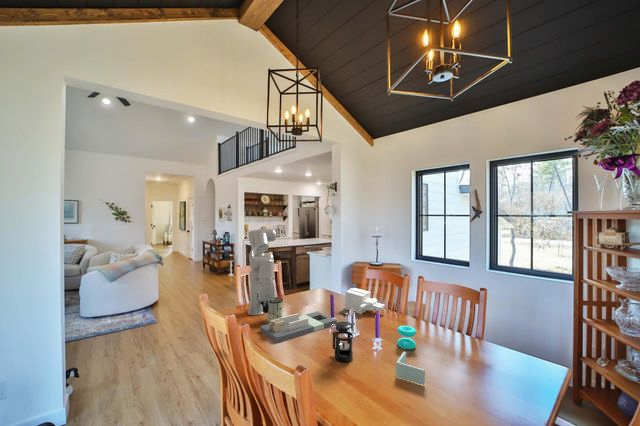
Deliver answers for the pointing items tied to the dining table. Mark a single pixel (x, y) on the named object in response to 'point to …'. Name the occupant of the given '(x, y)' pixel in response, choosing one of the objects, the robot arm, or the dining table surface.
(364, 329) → the dining table surface
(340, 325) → the french press
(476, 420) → the dining table surface
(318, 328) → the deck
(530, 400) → the dining table surface
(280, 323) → the birch block
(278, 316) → the coffee can
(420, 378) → the l-shaped corner panel
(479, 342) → the dining table surface
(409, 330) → the donuts
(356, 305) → the blocky voxel creature
